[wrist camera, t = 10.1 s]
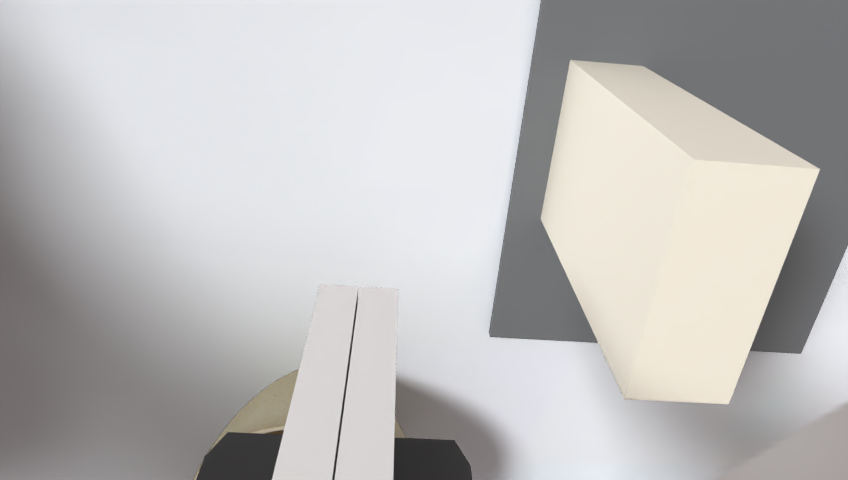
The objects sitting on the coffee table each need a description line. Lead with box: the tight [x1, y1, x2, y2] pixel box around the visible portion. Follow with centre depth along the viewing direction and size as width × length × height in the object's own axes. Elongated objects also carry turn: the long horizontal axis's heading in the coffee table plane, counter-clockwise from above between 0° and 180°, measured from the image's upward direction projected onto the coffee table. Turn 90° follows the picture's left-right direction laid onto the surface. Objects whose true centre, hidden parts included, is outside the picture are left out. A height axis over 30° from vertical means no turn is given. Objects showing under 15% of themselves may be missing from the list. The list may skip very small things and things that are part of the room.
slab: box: [541, 60, 820, 404], centre depth 21 cm, size 3×7×12 cm, turn 175°
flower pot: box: [193, 369, 406, 480], centre depth 30 cm, size 10×10×7 cm
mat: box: [489, 0, 848, 354], centre depth 27 cm, size 16×22×1 cm
